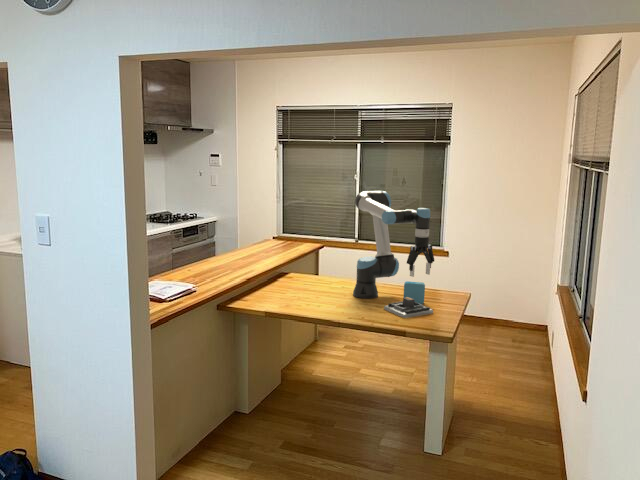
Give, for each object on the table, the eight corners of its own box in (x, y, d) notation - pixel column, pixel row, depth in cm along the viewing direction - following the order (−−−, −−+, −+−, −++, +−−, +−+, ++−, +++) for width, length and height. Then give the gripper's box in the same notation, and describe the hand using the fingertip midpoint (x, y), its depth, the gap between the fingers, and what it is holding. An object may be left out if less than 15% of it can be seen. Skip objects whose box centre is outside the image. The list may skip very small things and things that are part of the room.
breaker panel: (383, 309, 299) (384, 303, 298) (411, 304, 309) (411, 298, 308) (404, 318, 284) (404, 311, 283) (432, 313, 294) (433, 306, 293)
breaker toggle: (402, 306, 297) (403, 297, 296) (408, 305, 299) (408, 296, 298) (408, 309, 293) (408, 299, 292) (414, 308, 295) (414, 298, 294)
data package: (424, 302, 315) (425, 282, 313) (424, 304, 310) (425, 284, 308) (403, 300, 317) (404, 281, 315) (403, 302, 312) (404, 283, 310)
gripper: (410, 238, 284) (407, 278, 288) (442, 235, 295) (440, 274, 299) (401, 236, 290) (399, 275, 294) (433, 233, 302) (431, 271, 306)
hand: (419, 275), depth 297 cm, fingers open, 11 cm apart
